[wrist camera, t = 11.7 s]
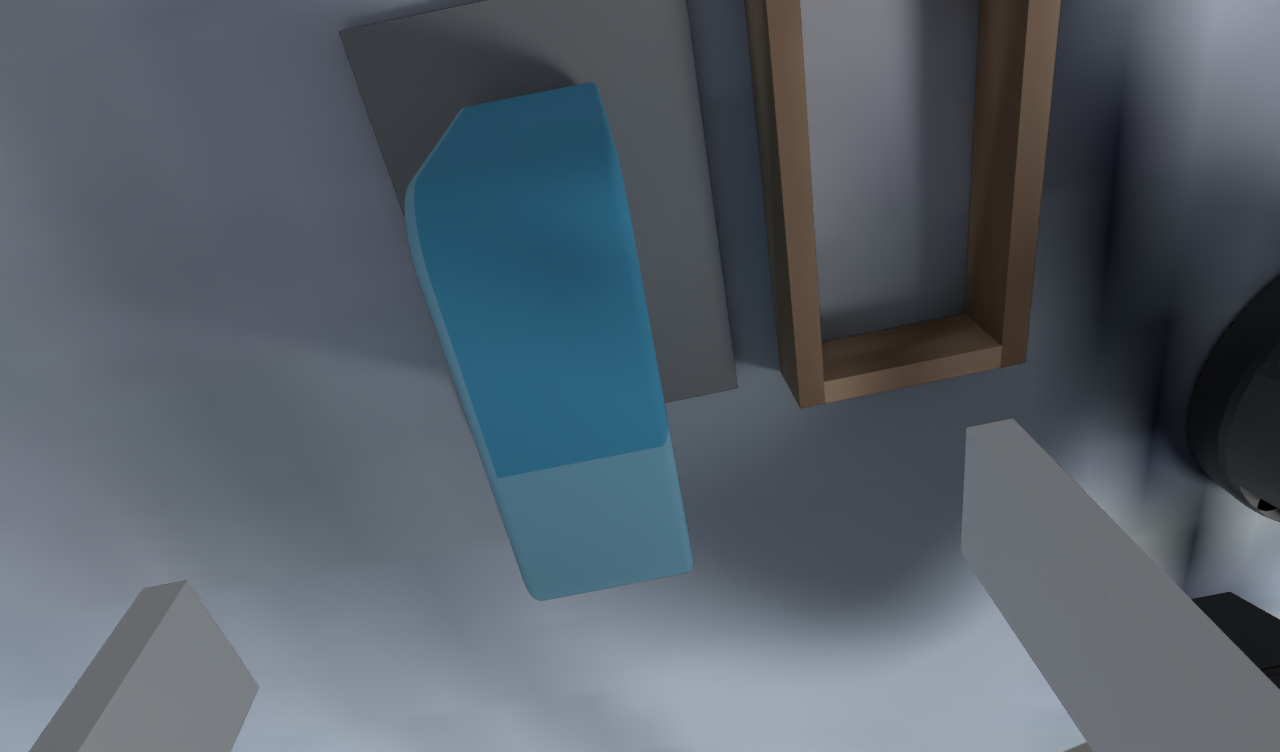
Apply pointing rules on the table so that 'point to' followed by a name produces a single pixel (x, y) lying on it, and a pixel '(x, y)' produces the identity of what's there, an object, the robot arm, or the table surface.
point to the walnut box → (998, 223)
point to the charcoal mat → (637, 115)
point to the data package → (551, 338)
